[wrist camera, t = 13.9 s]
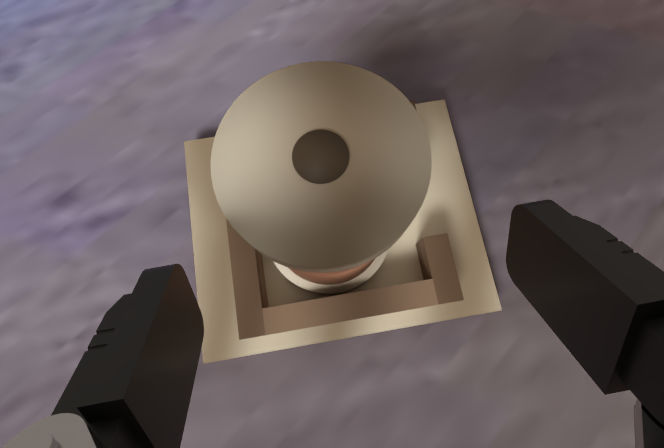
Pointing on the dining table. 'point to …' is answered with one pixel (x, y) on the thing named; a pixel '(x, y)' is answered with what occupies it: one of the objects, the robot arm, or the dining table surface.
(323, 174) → the bobbin
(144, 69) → the dining table surface
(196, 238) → the board
